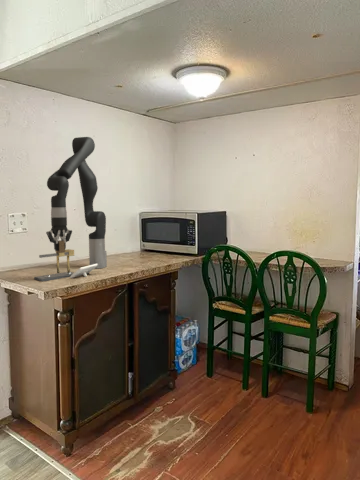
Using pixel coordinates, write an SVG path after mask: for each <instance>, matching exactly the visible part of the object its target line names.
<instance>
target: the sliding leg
mask: <svg viewBox="0 0 360 480" xmlns="http://www.w3.org/2000/svg"><path fill="white" fill-rule="evenodd" d="M58 247H59V251H55V253H58V254H59V256H55V257H56V274H57V273H60V258H61V257H62V258H63V257H66V256H65V254H64V252H65V250H66V249H65V244H64V241H61V239H60V240H59V239H58Z"/></svg>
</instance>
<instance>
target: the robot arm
mask: <svg viewBox="0 0 360 480" xmlns="http://www.w3.org/2000/svg"><path fill="white" fill-rule="evenodd" d="M71 146H72V152H73V155H71V156H70V157H68V158H67V159H65V161H64V162H63V163H62V164H61V165H60V167H59V169H57V170H56V171H54V172H53V173H52V174H51V175H50V176H49V177H48V178H47V181H46V187H47V188H48V189H49V190H50V191H52V192H53V191H57V193H56V194H55V195H52V196H51V198H50V207H51V208H50V222H51V224H50V225H51V228H50V230H49V231H45V232H46V233H45V234H46V235H47V237H48V240H49V243H53V250H54V251H55V252H56V251H59V247H58V241H59V239H60V240H61V241H64V244H65V250H66V249H67V247H66V246H67V244H66V243H67V242H70V240H71V236H72V233H73V230H72V229H71V230H70V229H68V227H67V226H68V215H67V213H68V212H67V203H66V202H67V201H66V200H67V196H68V192H69V187H70V184H69V183H70V182H69V180H70V179H71V178H72V176H73V175H74V174H75V172H76V170H77V172H78V177H79V179H78V180H79V183H80V189H81V195H82V201H83V208H84V210H83V211H84V221H85V223H86V225H87V227H91V228H95V230H94V231H93V232H91V233H88V255H89V256H88V261H89V264H88V266H89V265H93V264H98V266H96V267H95V268H94V269H104V268H107V267H108V266H107V265H108V262H107V261H108V260H107V250H106V240H105V237H106V232H107V229H106V227H107V226H106V225H107V215H106V214H105V212H104V211H98V210H94V200H95V198H96V195H97V193H98V188H99V187H98V182H97V177H96V174H95V173H94V171H93V170H92V169H91V168H90V166H89V164H88V163H87V161H86V160H87V158H89V156H91V155H92V154H93V152H94V151H95V147H96V144H95V141H94V139H93V138H92V137H90V136H82V137H81V136H80V137H78V136H77V137H74V138H73V139H72V142H71Z"/></svg>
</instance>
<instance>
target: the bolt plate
mask: <svg viewBox="0 0 360 480" xmlns="http://www.w3.org/2000/svg"><path fill="white" fill-rule="evenodd" d="M74 273H75V271H70V273H67V271H64V272H59V273H57V272H56V273H51V274H45V275H38V276H34V278H33V279H34V280H35V281H39V282H47V281H54V280H55V281H56V280H60V279H66V278H70V276H71V275H72V274H74Z"/></svg>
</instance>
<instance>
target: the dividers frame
mask: <svg viewBox="0 0 360 480" xmlns="http://www.w3.org/2000/svg"><path fill="white" fill-rule="evenodd" d="M64 254H65V256H64V257H66V268H67V269H66V270H67V271H66V272H67V273H70V272H71V271H70V270H71V269H70V265H71V264H70V257H73V256H75V249H70V248H69V249H67V248H66V249H65V252H64ZM56 256H59V254H58V253H56V252H55V253H46V254H39V255H38V258H41V259H42V258H43V259H44V258H51V257H56Z"/></svg>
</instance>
